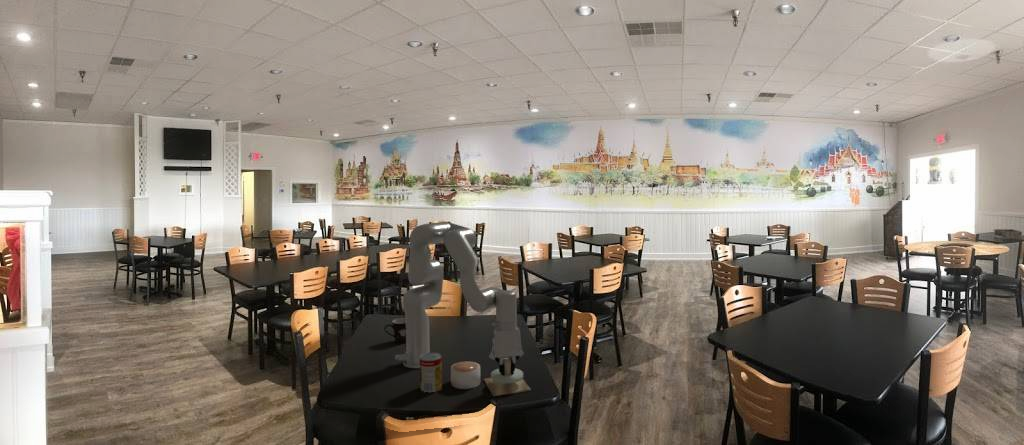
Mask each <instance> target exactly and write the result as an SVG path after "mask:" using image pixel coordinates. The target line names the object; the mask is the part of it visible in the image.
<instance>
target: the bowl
mask: <svg viewBox="0 0 1024 445" xmlns="http://www.w3.org/2000/svg"><path fill="white" fill-rule="evenodd" d="M480 384H481V364H479V363H477V362H475V361H459V362H456V363H454V364H452V365H451V366H450V385H451V387H453V388H456V389H460V390H469V389H474V388H476V387H478V386H480Z"/></svg>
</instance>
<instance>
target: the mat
mask: <svg viewBox="0 0 1024 445" xmlns="http://www.w3.org/2000/svg"><path fill="white" fill-rule="evenodd" d="M483 381H484V383H485V384H486V386H487V389H488V390H489V391H490V393H491V395H492V396H493V397H495V396H496V397H497V396H503V395H504V396H505V395H511V394H518V393H519V394H520V393H525V392H531V391H532V389H531V387H530V386H529V385H528V384H527V383H526V380H525V379H524V378H523V379H522V380H520V381H518V382H514V383H499V382H495V381H493V380H492V379H491V377H487V378H484V379H483Z"/></svg>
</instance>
